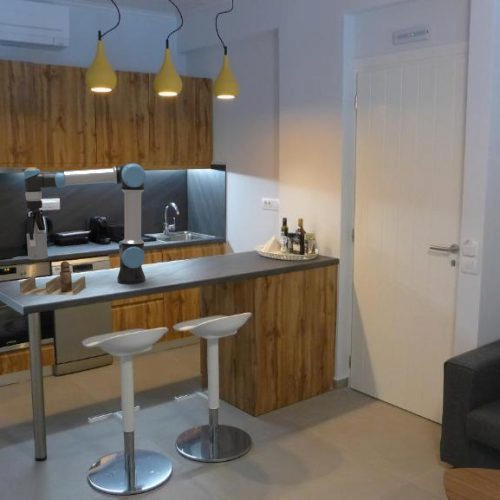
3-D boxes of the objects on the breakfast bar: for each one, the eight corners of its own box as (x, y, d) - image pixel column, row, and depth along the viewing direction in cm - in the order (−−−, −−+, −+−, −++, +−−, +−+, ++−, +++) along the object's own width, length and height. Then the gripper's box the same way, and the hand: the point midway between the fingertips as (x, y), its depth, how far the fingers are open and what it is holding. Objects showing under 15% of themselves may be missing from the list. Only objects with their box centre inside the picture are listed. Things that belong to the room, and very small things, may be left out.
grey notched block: (23, 259, 310) (22, 234, 308) (36, 255, 319) (35, 232, 317) (39, 260, 307) (37, 235, 305) (52, 256, 316) (50, 232, 314)
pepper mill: (73, 289, 319) (72, 260, 316) (70, 292, 313) (68, 262, 311) (63, 289, 319) (61, 260, 316) (59, 292, 313) (57, 262, 311)
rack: (85, 289, 324) (85, 276, 322) (75, 296, 308) (74, 283, 307) (33, 289, 325) (32, 276, 324) (20, 296, 310) (19, 282, 309)
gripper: (35, 198, 319) (38, 241, 323) (16, 202, 298) (20, 248, 301) (49, 198, 319) (52, 241, 323) (32, 202, 297) (35, 248, 301)
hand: (37, 244), depth 312 cm, fingers closed on grey notched block, 9 cm apart
